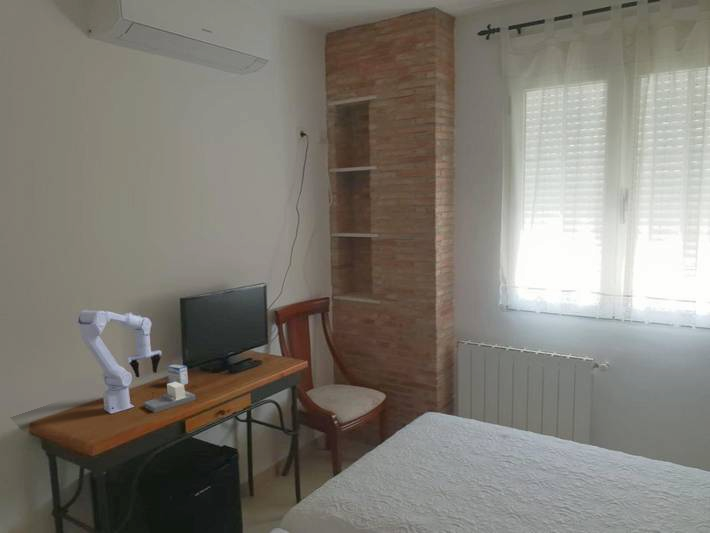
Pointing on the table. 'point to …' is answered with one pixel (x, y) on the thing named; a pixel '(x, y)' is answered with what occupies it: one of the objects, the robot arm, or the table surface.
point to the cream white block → (176, 390)
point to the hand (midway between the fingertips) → (146, 374)
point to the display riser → (168, 402)
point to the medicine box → (178, 374)
